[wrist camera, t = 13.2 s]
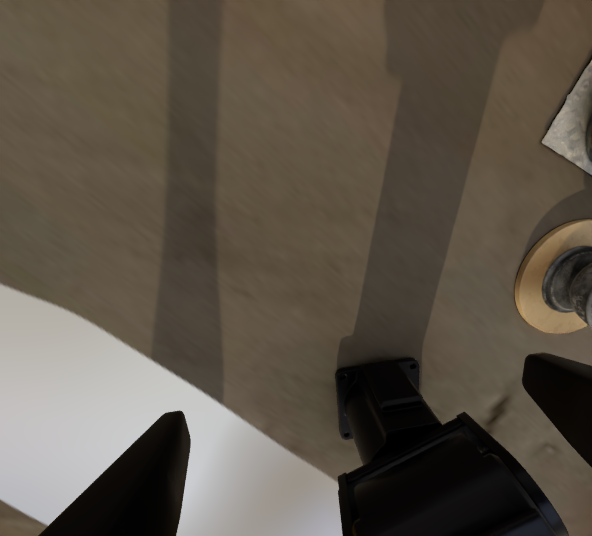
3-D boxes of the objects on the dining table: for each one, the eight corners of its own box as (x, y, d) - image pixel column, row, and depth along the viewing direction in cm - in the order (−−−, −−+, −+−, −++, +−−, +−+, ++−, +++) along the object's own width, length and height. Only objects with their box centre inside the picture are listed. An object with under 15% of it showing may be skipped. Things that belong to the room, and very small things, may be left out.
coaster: (610, 322, 24) (617, 325, 24) (508, 338, 24) (513, 341, 23) (636, 212, 22) (644, 212, 21) (521, 226, 21) (527, 227, 20)
